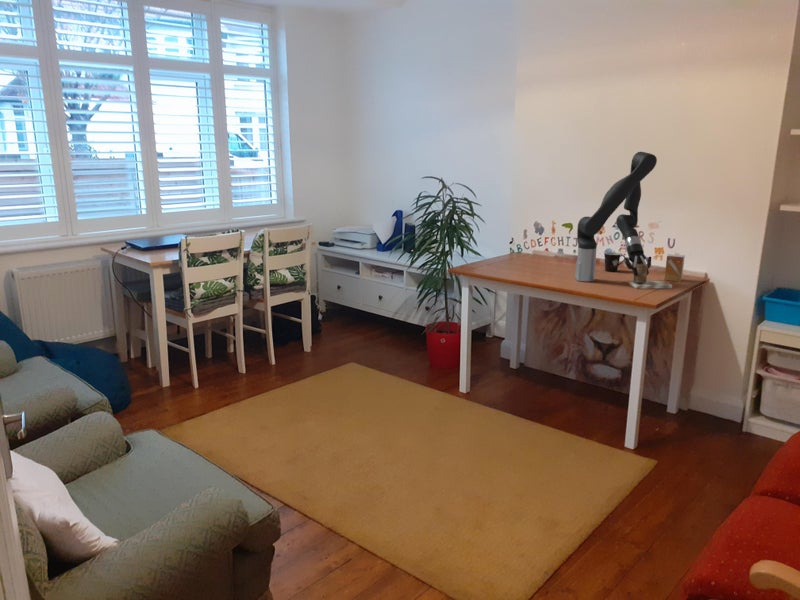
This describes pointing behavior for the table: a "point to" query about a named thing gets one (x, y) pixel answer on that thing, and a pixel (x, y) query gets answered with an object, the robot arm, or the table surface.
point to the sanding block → (641, 273)
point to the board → (650, 284)
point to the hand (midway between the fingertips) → (641, 274)
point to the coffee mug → (612, 261)
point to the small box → (674, 267)
